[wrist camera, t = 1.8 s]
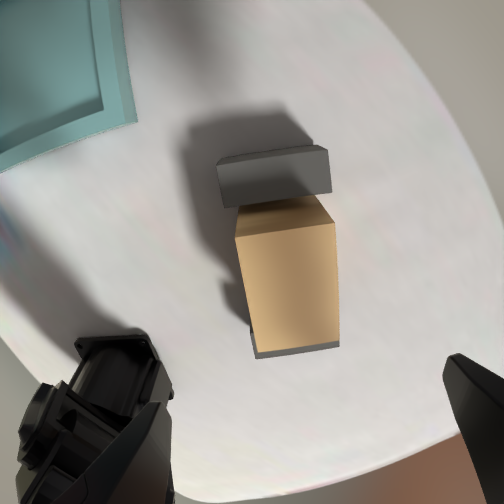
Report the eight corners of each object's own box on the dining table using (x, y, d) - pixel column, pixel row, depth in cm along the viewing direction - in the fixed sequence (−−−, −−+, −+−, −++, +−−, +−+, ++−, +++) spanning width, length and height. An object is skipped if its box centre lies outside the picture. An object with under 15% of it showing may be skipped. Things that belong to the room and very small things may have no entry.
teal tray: (-1, 173, 16) (-18, 180, 14) (-17, 11, 11) (-32, 8, 9) (138, 122, 15) (125, 123, 14) (114, -64, 10) (104, -75, 9)
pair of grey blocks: (255, 333, 21) (255, 359, 18) (221, 158, 16) (215, 165, 14) (331, 322, 20) (339, 346, 18) (316, 144, 16) (327, 149, 14)
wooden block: (256, 298, 20) (257, 352, 15) (239, 203, 17) (234, 237, 13) (321, 288, 20) (339, 340, 15) (313, 192, 17) (334, 222, 13)
